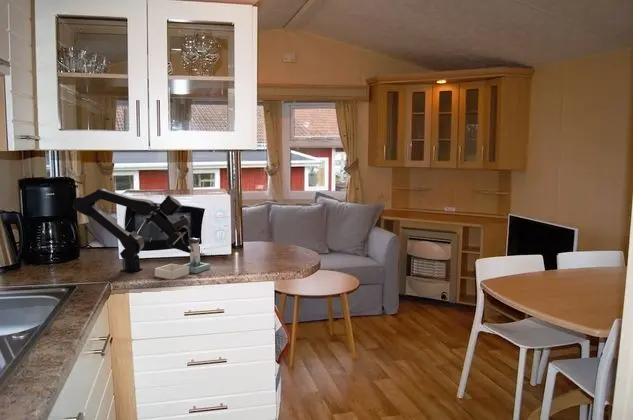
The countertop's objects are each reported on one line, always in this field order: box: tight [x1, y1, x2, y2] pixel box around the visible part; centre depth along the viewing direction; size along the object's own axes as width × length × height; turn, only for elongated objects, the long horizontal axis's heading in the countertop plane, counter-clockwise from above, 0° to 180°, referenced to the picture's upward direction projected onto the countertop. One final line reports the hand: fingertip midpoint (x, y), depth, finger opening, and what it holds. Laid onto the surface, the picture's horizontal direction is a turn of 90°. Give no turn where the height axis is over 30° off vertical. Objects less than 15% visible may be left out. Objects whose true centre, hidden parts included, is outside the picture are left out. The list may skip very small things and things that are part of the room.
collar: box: [183, 261, 211, 274], centre depth 213 cm, size 9×9×2 cm
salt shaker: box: [188, 237, 201, 267], centre depth 212 cm, size 5×5×13 cm
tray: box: [154, 263, 190, 280], centre depth 205 cm, size 10×10×3 cm
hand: (192, 249), depth 212 cm, fingers open, 9 cm apart
